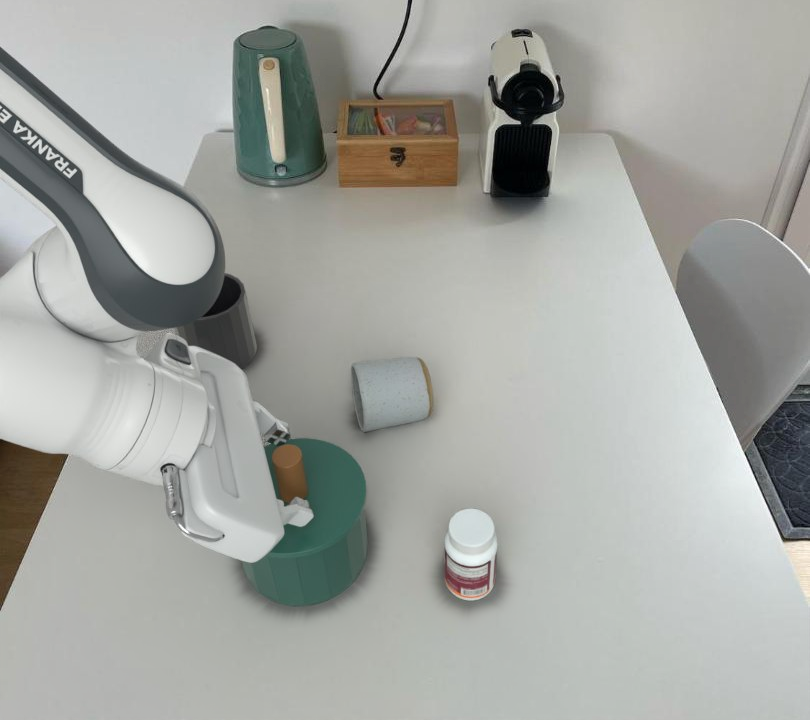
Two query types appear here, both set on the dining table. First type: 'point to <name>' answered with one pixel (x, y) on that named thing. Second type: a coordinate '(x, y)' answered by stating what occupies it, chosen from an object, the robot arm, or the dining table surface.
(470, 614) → the dining table surface
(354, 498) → the tin lid
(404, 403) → the ceramic mug
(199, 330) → the cup
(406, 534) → the dining table surface
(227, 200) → the dining table surface
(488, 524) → the pill bottle
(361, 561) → the tin
